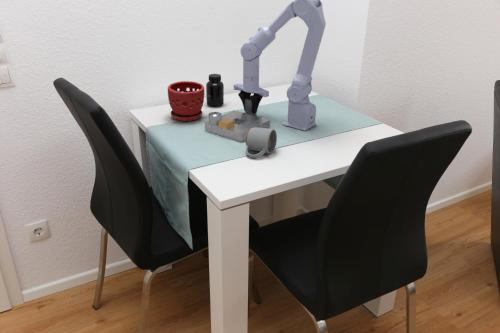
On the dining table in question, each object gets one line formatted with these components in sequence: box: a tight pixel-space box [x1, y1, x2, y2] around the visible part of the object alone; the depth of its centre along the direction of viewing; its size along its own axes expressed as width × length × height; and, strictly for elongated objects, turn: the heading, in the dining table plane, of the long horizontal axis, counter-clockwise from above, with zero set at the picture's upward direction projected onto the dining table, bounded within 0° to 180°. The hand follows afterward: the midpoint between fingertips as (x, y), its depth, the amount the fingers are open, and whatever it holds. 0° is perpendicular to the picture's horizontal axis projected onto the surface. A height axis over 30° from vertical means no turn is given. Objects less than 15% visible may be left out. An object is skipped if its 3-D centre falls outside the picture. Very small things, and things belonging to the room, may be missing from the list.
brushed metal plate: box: [204, 110, 271, 143], centre depth 163 cm, size 16×16×6 cm
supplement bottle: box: [205, 73, 225, 108], centre depth 185 cm, size 7×7×12 cm
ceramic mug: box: [245, 127, 278, 159], centre depth 146 cm, size 11×8×8 cm
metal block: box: [244, 97, 257, 116], centre depth 174 cm, size 3×3×7 cm
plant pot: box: [167, 80, 205, 122], centre depth 172 cm, size 13×13×12 cm
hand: (250, 111), depth 175 cm, fingers closed on metal block, 3 cm apart
